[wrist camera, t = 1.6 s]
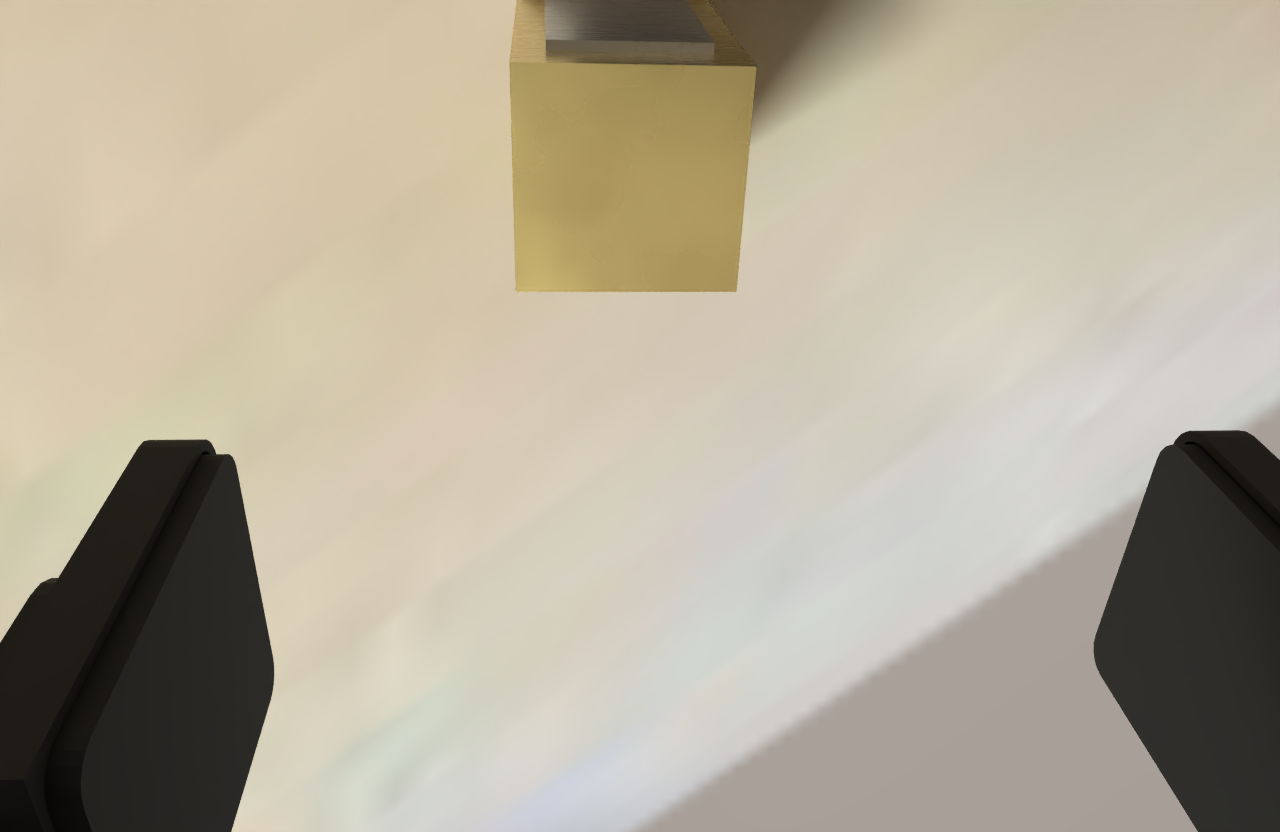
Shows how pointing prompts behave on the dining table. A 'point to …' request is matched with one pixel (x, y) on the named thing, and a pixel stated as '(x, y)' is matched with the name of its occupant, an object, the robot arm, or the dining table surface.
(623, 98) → the gold block
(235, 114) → the dining table surface
